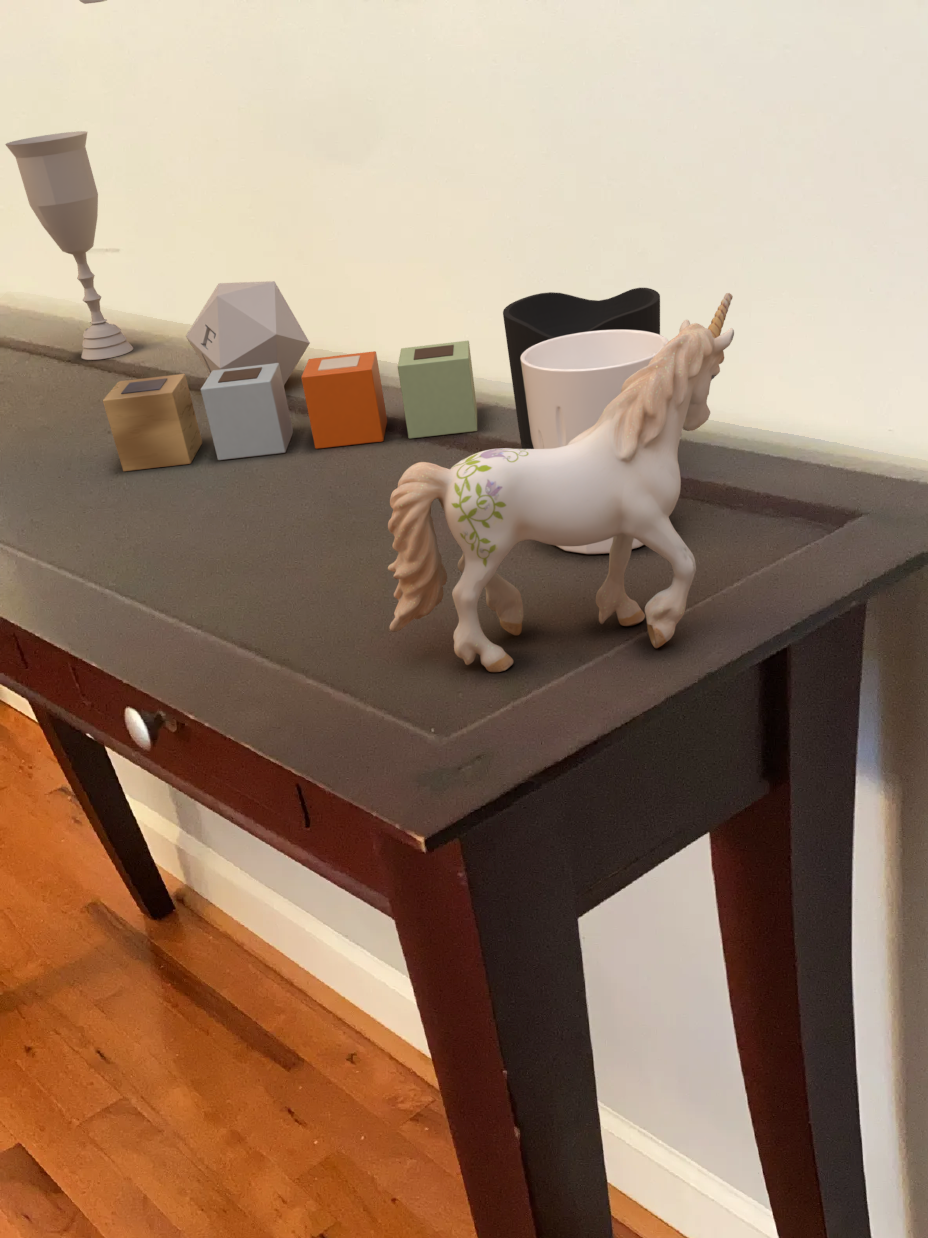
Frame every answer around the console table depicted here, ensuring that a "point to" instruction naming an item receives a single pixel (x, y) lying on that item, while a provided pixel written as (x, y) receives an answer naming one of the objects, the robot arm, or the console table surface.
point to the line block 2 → (247, 411)
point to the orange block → (345, 400)
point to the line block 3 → (438, 389)
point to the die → (247, 329)
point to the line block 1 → (153, 422)
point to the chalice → (69, 219)
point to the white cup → (581, 387)
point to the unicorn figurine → (564, 502)
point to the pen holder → (569, 328)
